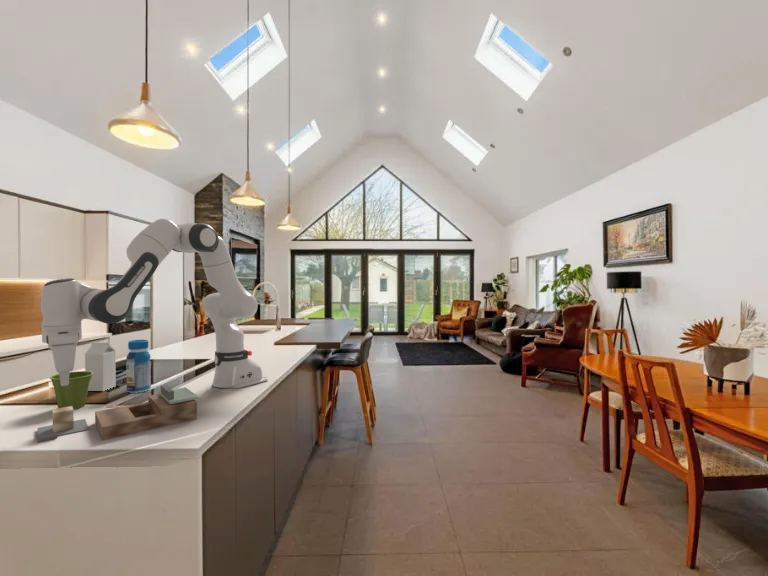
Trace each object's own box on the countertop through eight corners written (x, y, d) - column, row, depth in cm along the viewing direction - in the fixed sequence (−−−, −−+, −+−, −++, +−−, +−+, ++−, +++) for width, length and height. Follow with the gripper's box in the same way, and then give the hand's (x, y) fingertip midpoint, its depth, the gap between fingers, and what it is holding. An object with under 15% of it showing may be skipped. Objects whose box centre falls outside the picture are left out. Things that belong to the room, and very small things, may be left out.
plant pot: (66, 414, 124) (66, 380, 124) (40, 411, 128) (40, 377, 127) (102, 403, 136) (101, 372, 136) (77, 400, 139) (77, 369, 139)
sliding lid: (185, 389, 131) (185, 380, 131) (198, 398, 121) (198, 388, 121) (159, 394, 126) (159, 384, 126) (170, 404, 116) (170, 393, 115)
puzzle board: (181, 407, 132) (181, 390, 132) (196, 420, 119) (196, 401, 119) (95, 424, 116) (95, 405, 116) (102, 442, 103) (102, 420, 103)
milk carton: (102, 392, 150) (102, 344, 149) (85, 392, 150) (84, 344, 149) (115, 387, 157) (115, 341, 156) (98, 387, 157) (98, 341, 157)
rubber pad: (85, 421, 118) (85, 418, 118) (88, 431, 110) (88, 428, 110) (37, 430, 111) (37, 427, 111) (37, 442, 103) (37, 439, 103)
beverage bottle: (146, 392, 149) (146, 342, 148) (122, 394, 147) (121, 342, 146) (154, 387, 157) (154, 338, 157) (131, 388, 155) (130, 339, 155)
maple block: (72, 424, 114) (72, 405, 114) (73, 428, 110) (73, 409, 110) (52, 428, 111) (52, 409, 111) (53, 432, 107) (52, 413, 107)
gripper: (47, 331, 116) (48, 376, 116) (48, 340, 101) (50, 391, 101) (73, 329, 120) (75, 373, 120) (79, 337, 105) (80, 386, 105)
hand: (63, 381), depth 111 cm, fingers open, 8 cm apart
